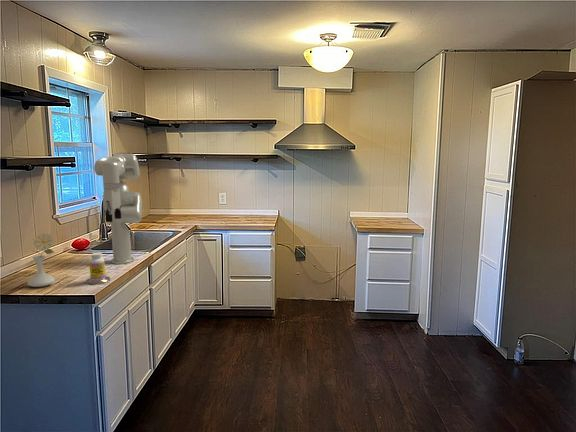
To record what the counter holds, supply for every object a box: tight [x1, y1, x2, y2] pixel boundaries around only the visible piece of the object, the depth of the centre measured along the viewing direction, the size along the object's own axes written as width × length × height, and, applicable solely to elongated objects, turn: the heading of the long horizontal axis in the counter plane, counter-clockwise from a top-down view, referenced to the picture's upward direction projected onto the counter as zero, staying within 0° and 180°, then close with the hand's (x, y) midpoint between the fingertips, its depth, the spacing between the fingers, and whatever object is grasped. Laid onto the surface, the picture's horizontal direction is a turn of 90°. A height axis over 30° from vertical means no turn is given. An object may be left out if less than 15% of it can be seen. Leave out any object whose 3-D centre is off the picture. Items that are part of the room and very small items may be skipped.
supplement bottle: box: [89, 252, 106, 281], centre depth 203 cm, size 7×7×13 cm
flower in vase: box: [26, 233, 56, 288], centre depth 195 cm, size 13×11×25 cm
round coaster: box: [85, 275, 111, 286], centre depth 204 cm, size 11×11×1 cm
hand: (113, 220), depth 211 cm, fingers open, 9 cm apart
